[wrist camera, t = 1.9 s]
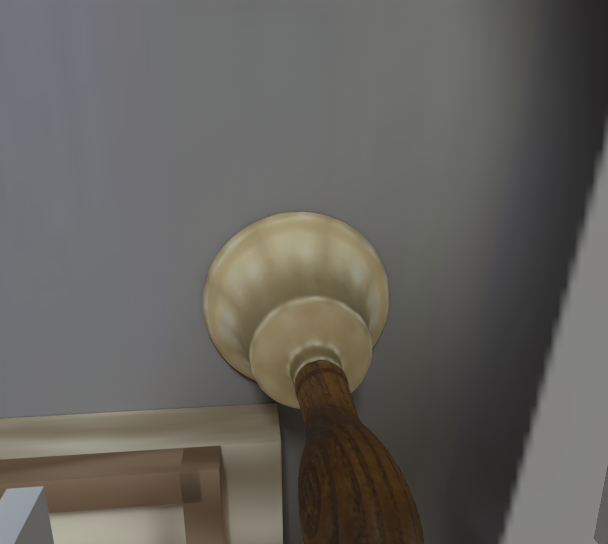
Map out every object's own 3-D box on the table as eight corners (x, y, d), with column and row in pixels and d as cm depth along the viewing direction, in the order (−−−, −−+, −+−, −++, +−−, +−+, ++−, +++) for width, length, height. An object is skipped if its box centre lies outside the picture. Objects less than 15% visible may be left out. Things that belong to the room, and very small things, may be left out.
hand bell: (381, 197, 23) (633, 398, 8) (395, 369, 26) (602, 760, 11) (186, 225, 23) (67, 494, 8) (220, 398, 25) (183, 846, 10)
